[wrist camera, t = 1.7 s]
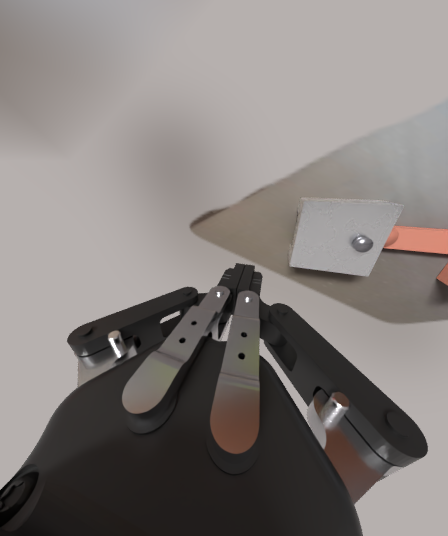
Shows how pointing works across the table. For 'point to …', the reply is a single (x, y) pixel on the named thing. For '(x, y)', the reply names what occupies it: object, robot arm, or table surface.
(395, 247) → the salmon angled bracket
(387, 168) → the table surface
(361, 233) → the metal block with knob
